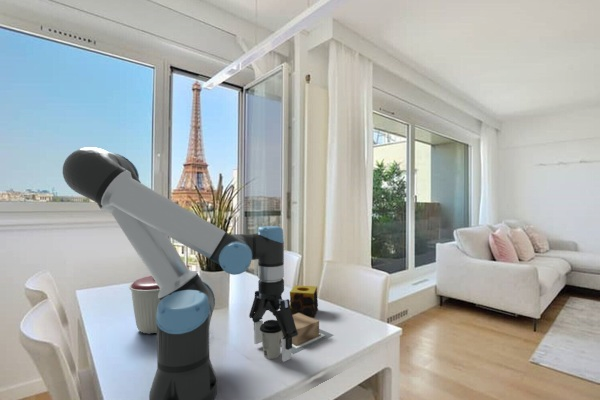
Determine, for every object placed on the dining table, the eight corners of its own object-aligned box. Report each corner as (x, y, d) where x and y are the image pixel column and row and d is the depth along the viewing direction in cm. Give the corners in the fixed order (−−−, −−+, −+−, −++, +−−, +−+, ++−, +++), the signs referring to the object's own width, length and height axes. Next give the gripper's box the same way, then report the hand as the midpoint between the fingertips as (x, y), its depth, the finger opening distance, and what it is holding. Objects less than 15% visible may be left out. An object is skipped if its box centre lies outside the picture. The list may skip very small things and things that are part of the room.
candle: (314, 319, 118) (314, 293, 118) (289, 317, 120) (288, 292, 120) (318, 309, 128) (318, 286, 128) (294, 308, 130) (294, 284, 130)
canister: (194, 321, 118) (194, 265, 117) (161, 342, 100) (160, 278, 100) (155, 316, 122) (154, 263, 122) (116, 336, 105) (116, 274, 105)
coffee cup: (261, 364, 87) (261, 329, 86) (258, 352, 93) (258, 319, 93) (286, 361, 88) (285, 326, 88) (280, 349, 95) (280, 317, 95)
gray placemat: (293, 355, 91) (293, 353, 91) (262, 337, 103) (262, 335, 103) (333, 336, 103) (333, 334, 103) (301, 322, 115) (301, 320, 115)
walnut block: (296, 345, 96) (296, 329, 96) (277, 335, 104) (276, 320, 104) (319, 335, 103) (319, 320, 103) (299, 326, 110) (298, 312, 110)
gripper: (309, 285, 84) (310, 362, 84) (257, 269, 102) (258, 333, 103) (288, 290, 79) (289, 373, 79) (237, 273, 97) (238, 340, 98)
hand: (271, 350), depth 91 cm, fingers open, 13 cm apart
